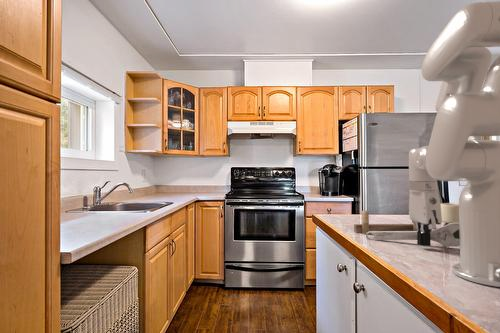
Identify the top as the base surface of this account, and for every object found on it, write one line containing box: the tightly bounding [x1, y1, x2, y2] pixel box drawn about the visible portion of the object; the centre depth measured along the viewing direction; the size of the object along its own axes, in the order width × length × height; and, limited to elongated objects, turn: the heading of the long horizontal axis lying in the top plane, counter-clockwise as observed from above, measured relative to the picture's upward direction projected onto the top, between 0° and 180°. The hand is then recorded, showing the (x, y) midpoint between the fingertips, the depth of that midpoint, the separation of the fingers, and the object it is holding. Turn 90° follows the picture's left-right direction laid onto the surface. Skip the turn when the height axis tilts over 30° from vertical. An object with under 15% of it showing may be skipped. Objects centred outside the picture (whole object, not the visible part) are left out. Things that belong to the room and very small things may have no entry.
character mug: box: [440, 202, 460, 239], centre depth 95 cm, size 11×7×13 cm, turn 55°
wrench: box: [365, 223, 460, 249], centre depth 92 cm, size 8×2×30 cm
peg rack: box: [353, 210, 416, 236], centre depth 109 cm, size 5×26×9 cm, turn 89°
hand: (423, 244), depth 86 cm, fingers closed
